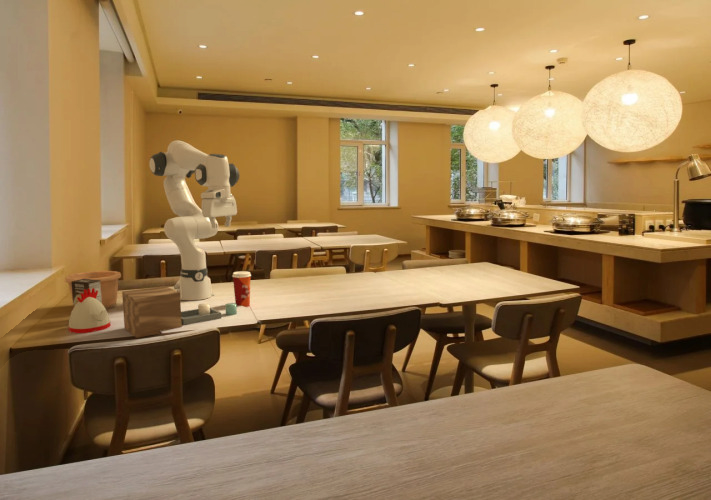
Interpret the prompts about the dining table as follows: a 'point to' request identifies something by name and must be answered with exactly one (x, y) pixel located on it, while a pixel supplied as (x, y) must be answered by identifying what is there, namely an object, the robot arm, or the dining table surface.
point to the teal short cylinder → (231, 309)
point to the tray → (194, 317)
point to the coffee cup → (242, 288)
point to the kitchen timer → (88, 314)
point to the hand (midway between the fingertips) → (221, 227)
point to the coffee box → (86, 284)
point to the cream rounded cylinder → (204, 309)
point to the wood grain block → (151, 310)
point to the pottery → (107, 284)
